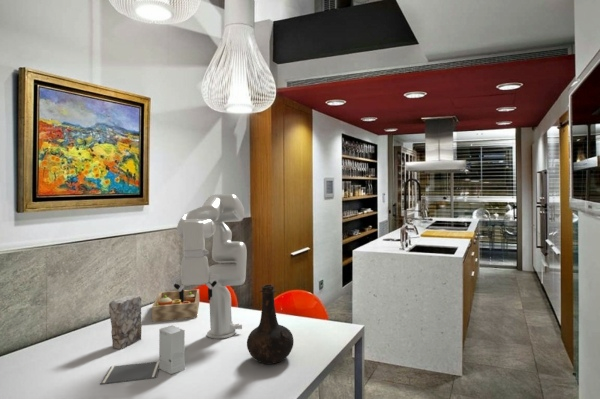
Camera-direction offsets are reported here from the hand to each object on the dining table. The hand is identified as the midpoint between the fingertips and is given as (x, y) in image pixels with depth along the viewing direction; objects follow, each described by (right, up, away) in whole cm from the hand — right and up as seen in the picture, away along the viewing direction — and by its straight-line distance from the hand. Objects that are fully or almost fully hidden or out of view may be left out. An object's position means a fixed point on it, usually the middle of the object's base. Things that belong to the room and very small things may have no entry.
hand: (196, 300), depth 152 cm
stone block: (-36, -25, +26) cm, 52 cm away
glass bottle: (+27, -24, +5) cm, 36 cm away
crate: (-29, -24, +75) cm, 84 cm away
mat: (-22, -25, -3) cm, 34 cm away
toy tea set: (-29, -24, +75) cm, 84 cm away
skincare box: (-8, -25, -2) cm, 26 cm away
